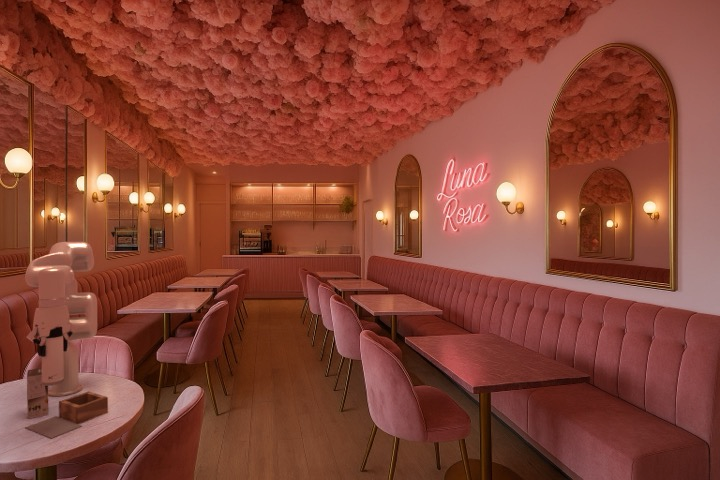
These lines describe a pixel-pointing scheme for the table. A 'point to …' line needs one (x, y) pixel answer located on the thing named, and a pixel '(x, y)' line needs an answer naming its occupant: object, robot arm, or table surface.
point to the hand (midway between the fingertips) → (52, 353)
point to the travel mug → (53, 359)
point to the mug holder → (83, 407)
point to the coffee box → (36, 394)
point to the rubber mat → (53, 427)
